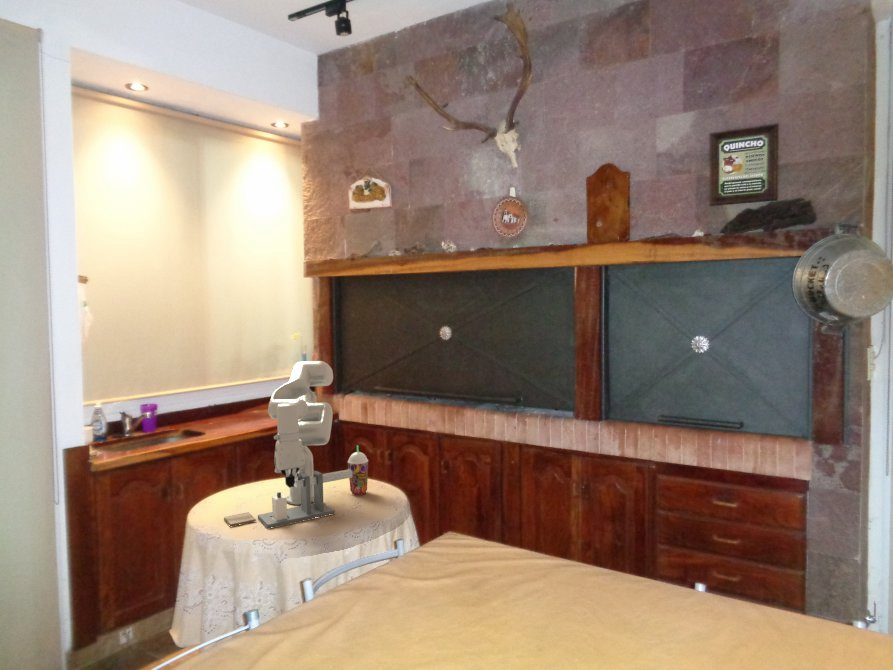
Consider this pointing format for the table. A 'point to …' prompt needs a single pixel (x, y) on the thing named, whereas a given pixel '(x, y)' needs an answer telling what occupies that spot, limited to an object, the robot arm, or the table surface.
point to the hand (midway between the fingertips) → (290, 486)
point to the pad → (239, 519)
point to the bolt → (326, 477)
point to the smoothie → (358, 472)
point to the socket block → (302, 505)
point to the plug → (279, 507)
